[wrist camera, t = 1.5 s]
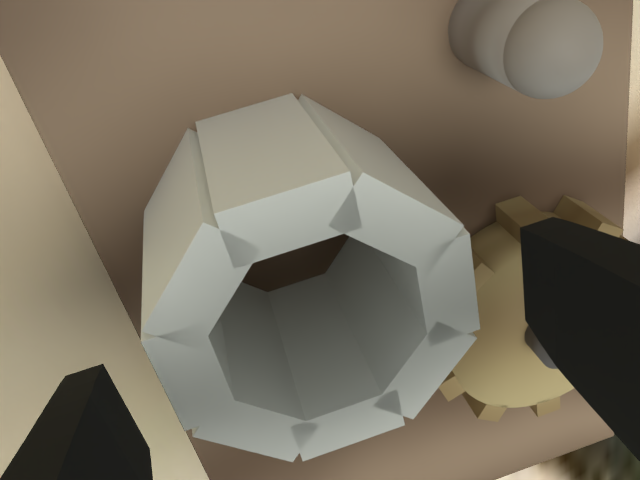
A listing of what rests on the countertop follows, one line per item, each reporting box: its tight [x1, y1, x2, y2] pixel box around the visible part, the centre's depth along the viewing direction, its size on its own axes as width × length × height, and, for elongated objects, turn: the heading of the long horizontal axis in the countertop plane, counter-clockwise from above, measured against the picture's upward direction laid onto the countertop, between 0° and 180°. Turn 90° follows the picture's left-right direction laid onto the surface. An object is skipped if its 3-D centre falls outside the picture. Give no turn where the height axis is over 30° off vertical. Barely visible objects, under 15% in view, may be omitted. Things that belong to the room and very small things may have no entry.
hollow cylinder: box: [141, 93, 480, 462], centre depth 12 cm, size 6×6×4 cm
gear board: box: [0, 0, 633, 480], centre depth 14 cm, size 22×13×4 cm, turn 13°
